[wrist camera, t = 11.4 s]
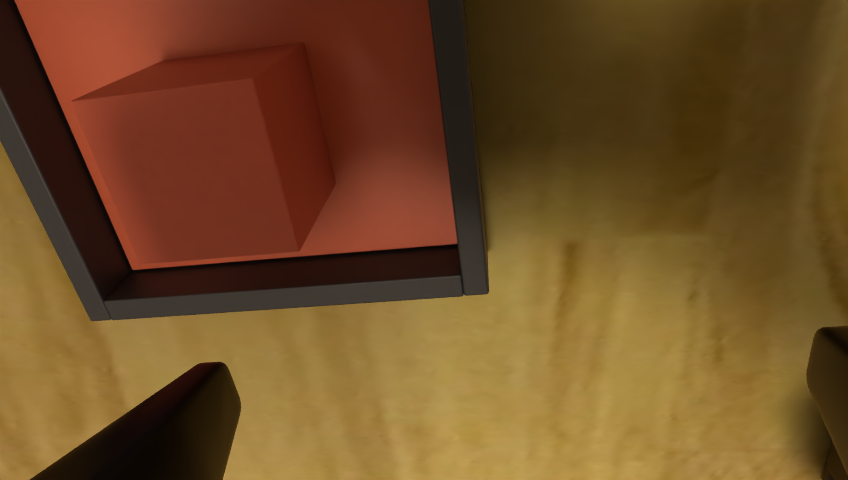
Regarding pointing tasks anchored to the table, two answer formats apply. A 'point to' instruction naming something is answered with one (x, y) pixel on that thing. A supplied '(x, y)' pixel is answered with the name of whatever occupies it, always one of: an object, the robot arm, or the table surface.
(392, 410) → the table surface
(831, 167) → the table surface
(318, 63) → the tray
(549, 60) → the table surface
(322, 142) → the terracotta block
